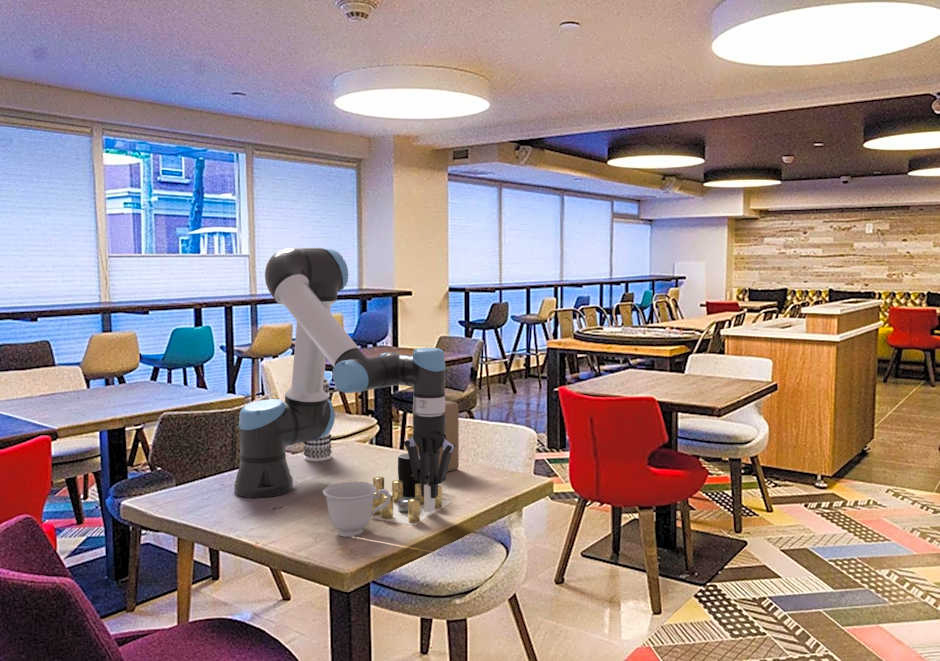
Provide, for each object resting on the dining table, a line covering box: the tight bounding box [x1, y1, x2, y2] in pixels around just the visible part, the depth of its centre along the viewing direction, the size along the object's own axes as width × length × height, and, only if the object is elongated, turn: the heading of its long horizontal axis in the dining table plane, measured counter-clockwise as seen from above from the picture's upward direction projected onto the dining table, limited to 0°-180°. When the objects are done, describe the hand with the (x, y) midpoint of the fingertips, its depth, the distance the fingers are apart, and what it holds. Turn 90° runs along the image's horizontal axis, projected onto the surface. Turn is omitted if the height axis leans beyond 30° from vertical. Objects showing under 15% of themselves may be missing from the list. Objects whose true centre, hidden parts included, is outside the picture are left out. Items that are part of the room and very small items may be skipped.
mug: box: [397, 453, 430, 498], centre depth 198 cm, size 12×9×10 cm
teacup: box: [322, 481, 390, 538], centre depth 171 cm, size 12×15×10 cm
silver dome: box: [398, 497, 414, 514], centre depth 185 cm, size 5×5×2 cm
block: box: [412, 399, 460, 473], centre depth 221 cm, size 10×10×20 cm
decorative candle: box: [302, 377, 333, 462], centre depth 235 cm, size 9×9×25 cm
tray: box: [371, 491, 453, 526], centre depth 188 cm, size 23×19×1 cm
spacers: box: [372, 476, 443, 524], centre depth 186 cm, size 20×15×5 cm
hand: (429, 510), depth 182 cm, fingers closed
